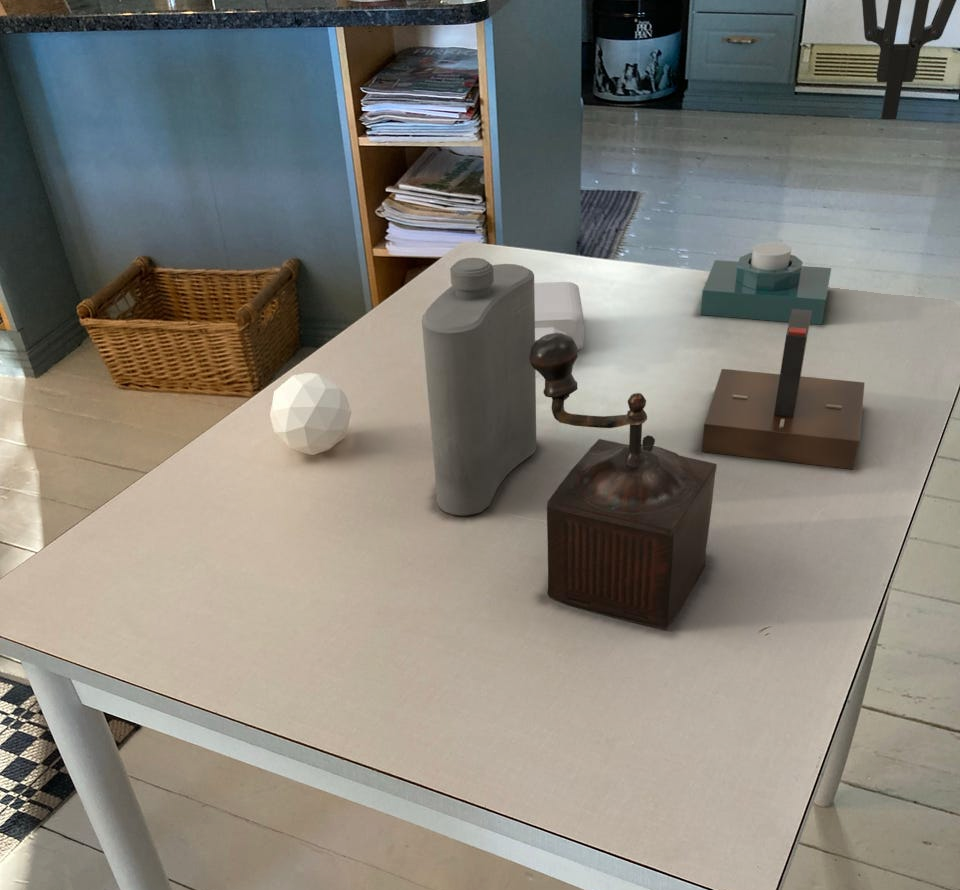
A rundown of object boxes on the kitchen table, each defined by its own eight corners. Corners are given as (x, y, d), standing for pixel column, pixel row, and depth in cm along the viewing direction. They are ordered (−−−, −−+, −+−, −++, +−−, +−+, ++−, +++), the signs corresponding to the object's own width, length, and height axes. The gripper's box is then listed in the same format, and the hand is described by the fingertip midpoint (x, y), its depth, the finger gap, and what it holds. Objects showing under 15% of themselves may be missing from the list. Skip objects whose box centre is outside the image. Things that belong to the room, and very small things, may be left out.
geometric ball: (306, 481, 103) (249, 438, 97) (312, 419, 107) (256, 375, 101) (365, 453, 100) (308, 407, 94) (368, 390, 103) (314, 342, 98)
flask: (490, 433, 103) (481, 230, 91) (544, 443, 101) (542, 237, 88) (419, 508, 93) (398, 293, 81) (477, 522, 91) (464, 302, 78)
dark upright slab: (779, 387, 102) (792, 306, 96) (798, 388, 101) (812, 307, 96) (773, 415, 97) (786, 332, 92) (793, 417, 97) (807, 334, 92)
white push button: (790, 260, 123) (793, 243, 122) (786, 274, 120) (789, 256, 118) (752, 257, 124) (755, 240, 123) (748, 271, 121) (750, 253, 120)
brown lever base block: (858, 409, 104) (865, 380, 102) (853, 469, 95) (859, 439, 93) (718, 395, 107) (721, 366, 105) (700, 451, 99) (704, 422, 97)
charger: (502, 379, 112) (501, 323, 124) (587, 376, 112) (578, 319, 124) (501, 338, 109) (500, 284, 121) (587, 334, 109) (578, 281, 120)
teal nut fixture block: (827, 292, 127) (834, 251, 123) (821, 325, 119) (828, 282, 116) (712, 283, 130) (716, 243, 127) (700, 314, 123) (704, 273, 120)
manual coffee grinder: (712, 556, 86) (737, 352, 74) (668, 633, 78) (687, 421, 67) (543, 515, 92) (542, 320, 80) (487, 583, 84) (476, 380, 73)
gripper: (861, -158, 94) (823, 124, 108) (1017, -168, 90) (956, 125, 105) (863, -163, 99) (826, 107, 114) (1011, -172, 95) (953, 107, 110)
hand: (888, 115), depth 109 cm, fingers closed
